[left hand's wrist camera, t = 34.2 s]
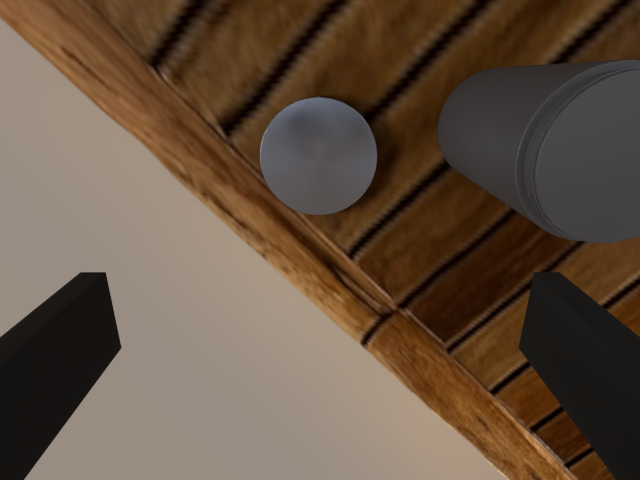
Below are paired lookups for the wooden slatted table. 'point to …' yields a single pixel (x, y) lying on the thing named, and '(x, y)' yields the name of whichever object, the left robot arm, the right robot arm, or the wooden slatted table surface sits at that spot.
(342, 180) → the lid
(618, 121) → the jar
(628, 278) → the wooden slatted table surface
